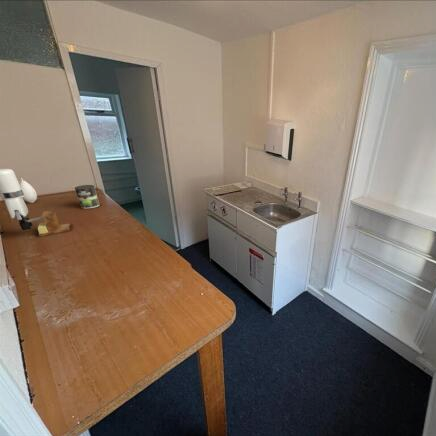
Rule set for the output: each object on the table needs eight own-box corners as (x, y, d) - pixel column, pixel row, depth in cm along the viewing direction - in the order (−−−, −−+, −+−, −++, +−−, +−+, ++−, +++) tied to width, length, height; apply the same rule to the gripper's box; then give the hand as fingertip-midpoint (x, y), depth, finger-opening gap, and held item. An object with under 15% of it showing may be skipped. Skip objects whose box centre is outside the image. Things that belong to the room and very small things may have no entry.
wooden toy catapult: (39, 236, 122) (30, 217, 117) (41, 230, 128) (33, 212, 124) (69, 230, 129) (63, 212, 125) (70, 225, 135) (63, 207, 131)
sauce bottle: (24, 201, 165) (13, 177, 158) (39, 199, 170) (30, 175, 163) (23, 204, 160) (12, 179, 153) (39, 202, 165) (29, 177, 158)
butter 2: (39, 233, 122) (37, 228, 121) (40, 231, 124) (38, 226, 123) (47, 232, 123) (45, 227, 122) (48, 229, 126) (46, 225, 125)
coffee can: (97, 207, 161) (91, 188, 155) (78, 209, 157) (71, 189, 151) (101, 203, 169) (96, 184, 164) (84, 204, 165) (77, 185, 160)
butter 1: (40, 230, 125) (38, 225, 124) (41, 228, 127) (39, 223, 126) (48, 229, 127) (46, 224, 126) (49, 227, 129) (47, 222, 128)
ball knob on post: (21, 227, 118) (17, 221, 117) (22, 225, 121) (18, 219, 119) (54, 218, 125) (50, 212, 124) (54, 216, 127) (51, 211, 126)
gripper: (4, 191, 117) (20, 224, 125) (-4, 200, 106) (13, 235, 113) (25, 189, 122) (39, 221, 129) (20, 197, 110) (35, 231, 118)
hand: (27, 227), depth 121 cm, fingers closed on ball knob on post, 3 cm apart
